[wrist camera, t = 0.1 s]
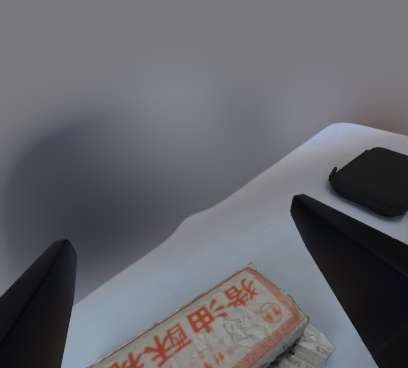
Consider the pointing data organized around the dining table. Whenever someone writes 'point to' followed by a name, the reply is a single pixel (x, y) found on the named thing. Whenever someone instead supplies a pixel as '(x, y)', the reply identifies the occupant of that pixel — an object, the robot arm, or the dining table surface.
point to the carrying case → (375, 181)
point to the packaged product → (229, 331)
